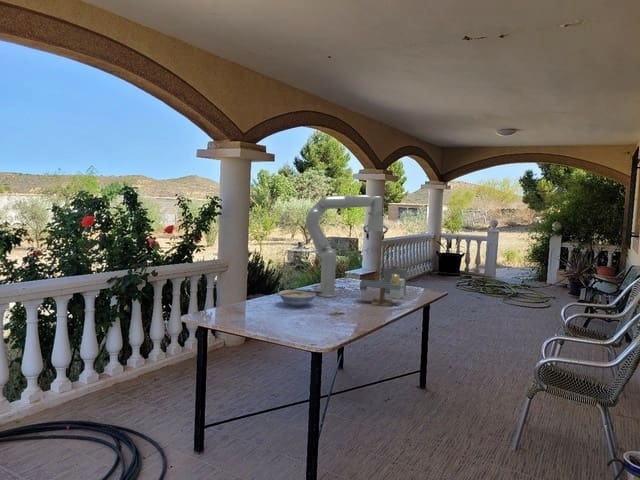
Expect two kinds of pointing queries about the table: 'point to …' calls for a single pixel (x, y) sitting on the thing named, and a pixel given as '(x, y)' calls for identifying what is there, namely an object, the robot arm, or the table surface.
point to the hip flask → (394, 270)
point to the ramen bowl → (297, 296)
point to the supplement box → (398, 293)
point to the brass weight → (395, 279)
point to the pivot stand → (382, 299)
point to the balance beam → (378, 285)
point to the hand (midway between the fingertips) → (375, 239)
